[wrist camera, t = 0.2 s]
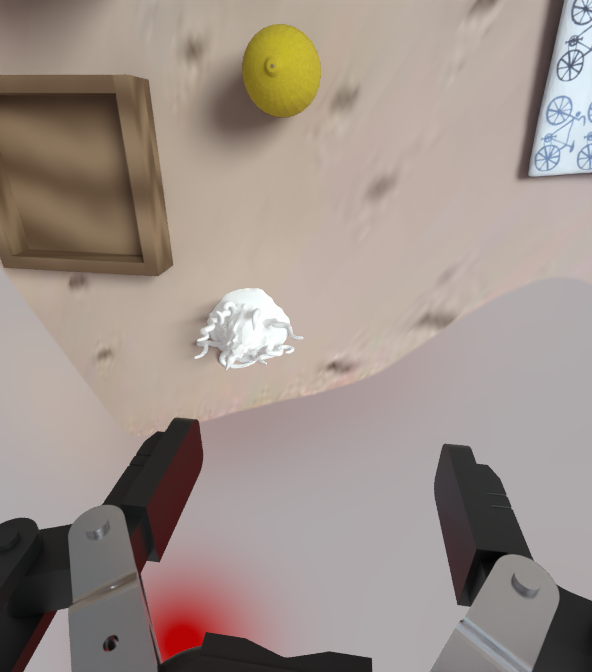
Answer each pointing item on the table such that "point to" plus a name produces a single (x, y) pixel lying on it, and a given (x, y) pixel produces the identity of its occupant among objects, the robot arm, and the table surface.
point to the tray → (81, 176)
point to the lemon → (281, 70)
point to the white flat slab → (567, 99)
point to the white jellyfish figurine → (246, 329)
